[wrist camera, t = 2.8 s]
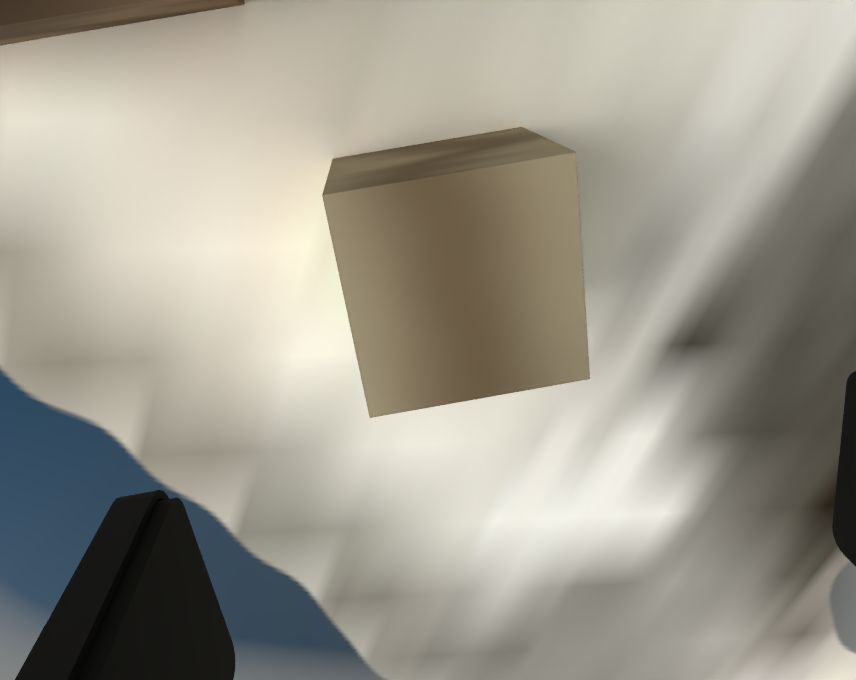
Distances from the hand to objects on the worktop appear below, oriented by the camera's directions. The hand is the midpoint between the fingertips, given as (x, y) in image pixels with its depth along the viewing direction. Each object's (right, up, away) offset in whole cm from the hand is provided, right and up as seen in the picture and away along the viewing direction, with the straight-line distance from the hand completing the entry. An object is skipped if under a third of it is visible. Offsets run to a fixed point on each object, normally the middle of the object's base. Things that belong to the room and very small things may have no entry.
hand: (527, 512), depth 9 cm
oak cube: (-1, +6, +13) cm, 14 cm away
